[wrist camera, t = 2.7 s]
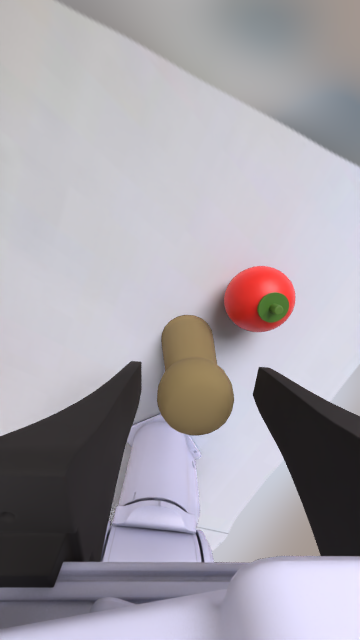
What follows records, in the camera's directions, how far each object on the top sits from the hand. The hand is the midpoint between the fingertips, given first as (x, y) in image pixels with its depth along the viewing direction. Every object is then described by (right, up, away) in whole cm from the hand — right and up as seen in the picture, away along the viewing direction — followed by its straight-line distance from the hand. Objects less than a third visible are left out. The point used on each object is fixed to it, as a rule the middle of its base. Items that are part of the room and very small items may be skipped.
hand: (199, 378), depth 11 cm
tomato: (+6, +6, +9) cm, 12 cm away
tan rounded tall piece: (0, +1, +10) cm, 11 cm away
